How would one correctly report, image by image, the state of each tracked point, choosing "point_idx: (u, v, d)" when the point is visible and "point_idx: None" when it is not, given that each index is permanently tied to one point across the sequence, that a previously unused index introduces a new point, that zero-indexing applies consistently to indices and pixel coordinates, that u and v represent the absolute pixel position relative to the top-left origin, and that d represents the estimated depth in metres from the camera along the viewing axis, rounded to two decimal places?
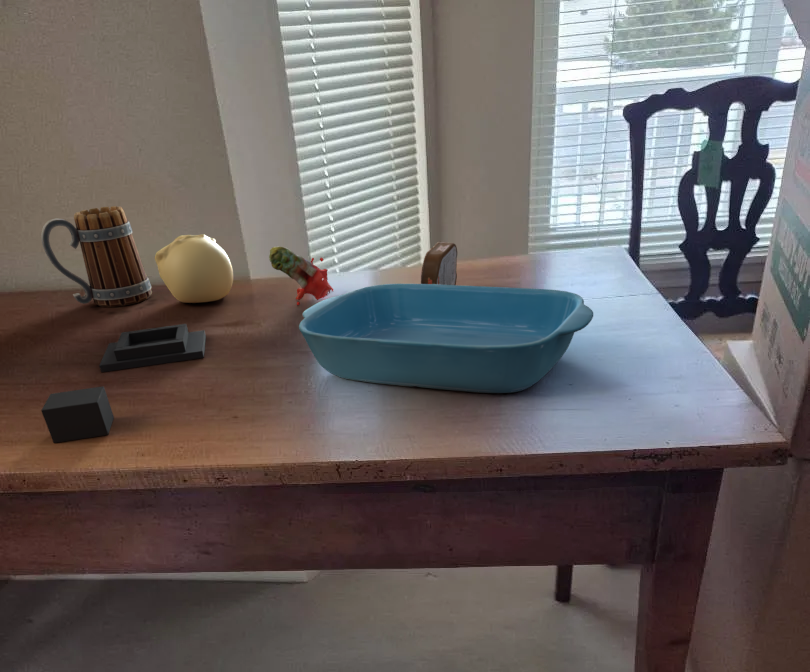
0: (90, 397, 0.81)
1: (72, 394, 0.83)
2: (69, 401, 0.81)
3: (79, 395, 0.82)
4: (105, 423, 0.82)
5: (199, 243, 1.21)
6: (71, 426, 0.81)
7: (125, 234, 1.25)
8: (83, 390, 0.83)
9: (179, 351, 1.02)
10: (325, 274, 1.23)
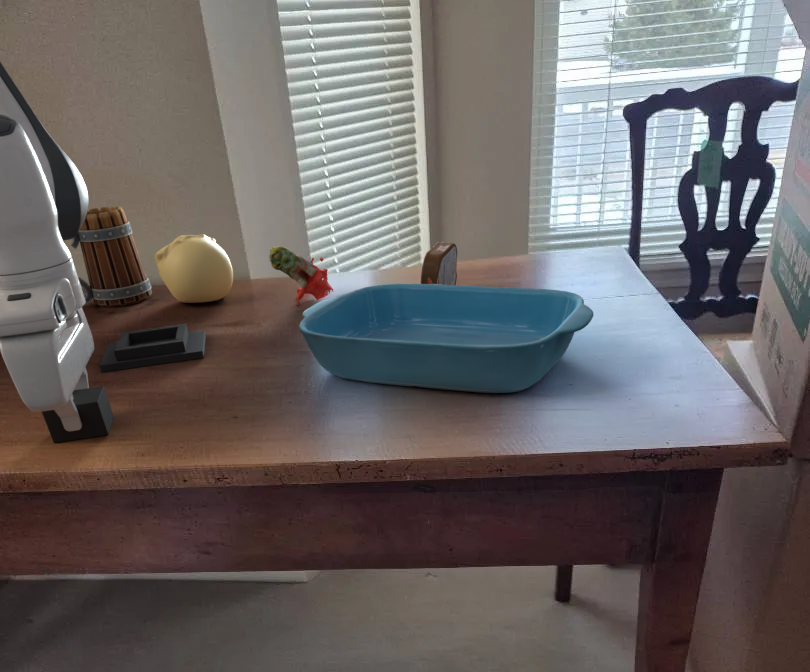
0: (90, 397, 0.82)
1: (72, 394, 0.83)
2: None
3: (79, 395, 0.82)
4: (105, 423, 0.82)
5: (199, 243, 1.21)
6: None
7: (125, 234, 1.25)
8: (83, 390, 0.83)
9: (179, 351, 1.02)
10: (325, 274, 1.23)
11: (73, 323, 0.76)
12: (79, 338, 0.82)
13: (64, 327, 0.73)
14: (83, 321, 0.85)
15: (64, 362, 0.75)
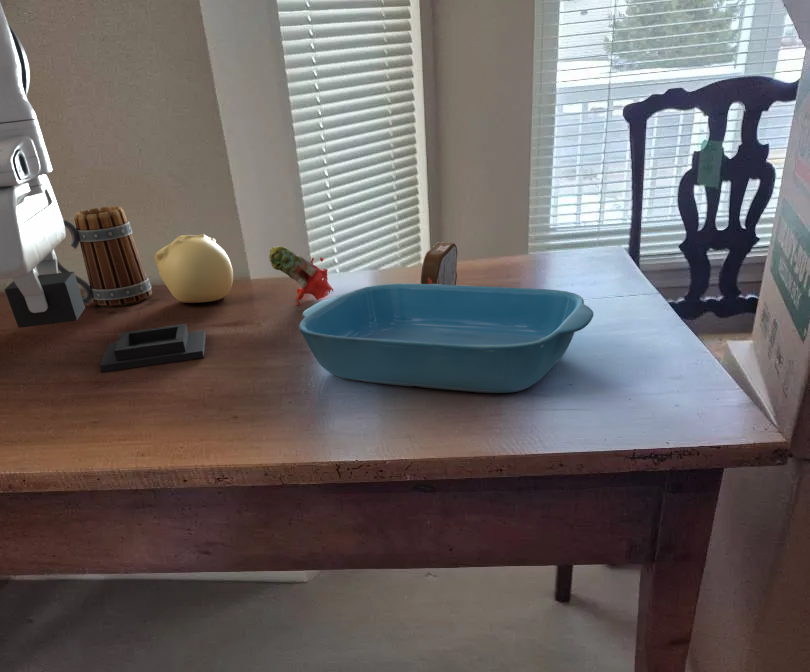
0: (58, 279, 0.76)
1: (40, 277, 0.78)
2: None
3: (47, 278, 0.77)
4: (74, 308, 0.77)
5: (199, 243, 1.21)
6: None
7: (125, 234, 1.25)
8: (51, 274, 0.78)
9: (179, 351, 1.02)
10: (325, 274, 1.23)
11: (38, 192, 0.71)
12: (47, 217, 0.77)
13: (26, 190, 0.68)
14: (53, 203, 0.80)
15: (26, 230, 0.70)
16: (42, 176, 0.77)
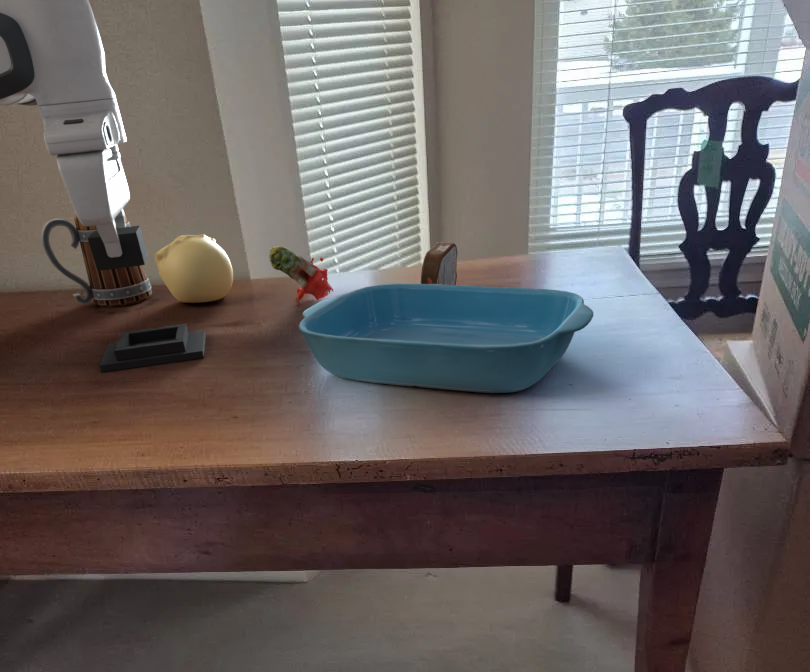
0: (129, 230, 0.93)
1: None
2: None
3: (119, 230, 0.94)
4: (142, 254, 0.94)
5: (199, 243, 1.21)
6: None
7: None
8: (122, 228, 0.95)
9: (179, 351, 1.02)
10: (325, 274, 1.23)
11: (116, 157, 0.88)
12: (119, 180, 0.94)
13: (110, 154, 0.85)
14: (121, 170, 0.97)
15: (109, 187, 0.87)
16: None
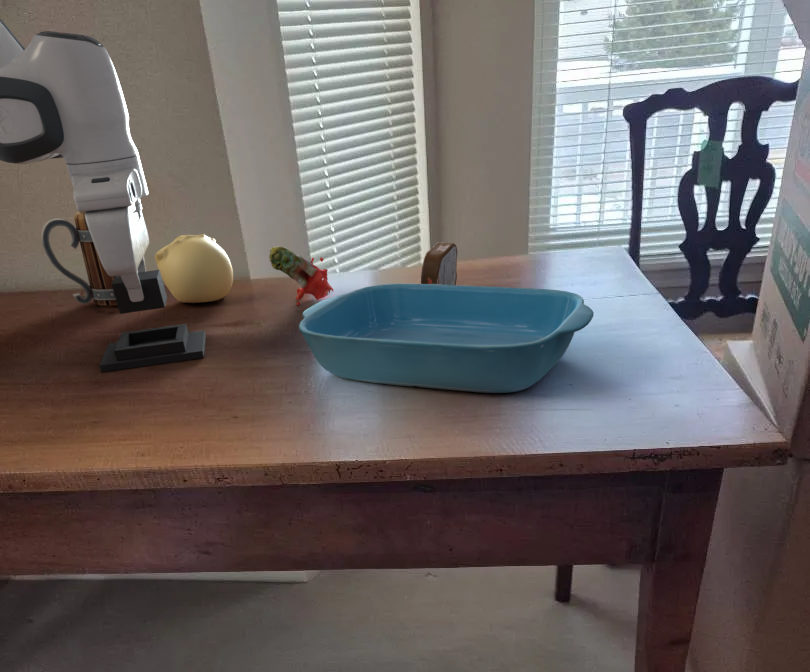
0: (150, 275, 0.99)
1: None
2: None
3: (140, 275, 1.00)
4: (162, 297, 1.00)
5: (199, 243, 1.21)
6: None
7: None
8: (143, 272, 1.01)
9: (179, 351, 1.02)
10: (325, 274, 1.23)
11: (139, 209, 0.94)
12: (140, 228, 1.00)
13: (134, 208, 0.91)
14: (141, 217, 1.03)
15: (133, 239, 0.92)
16: None
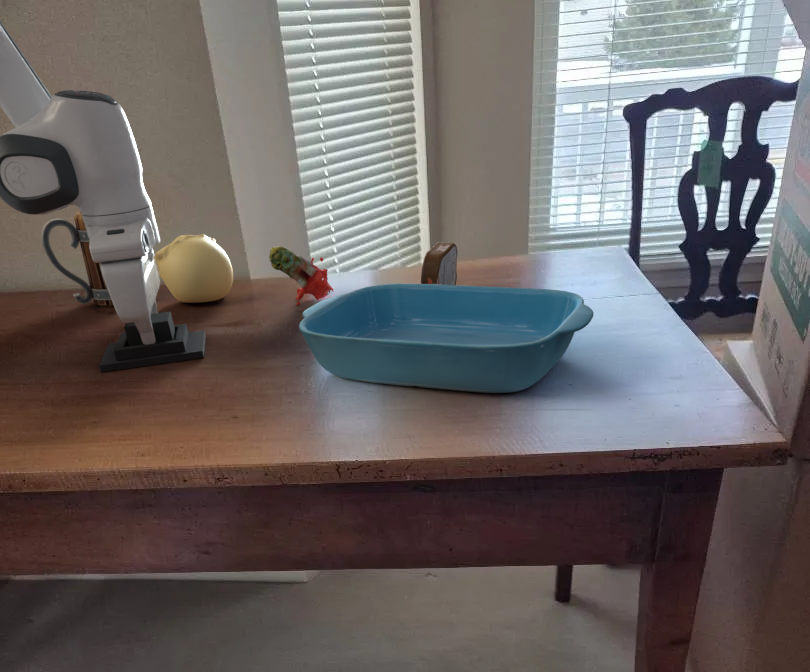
0: (161, 318, 1.02)
1: None
2: None
3: (152, 317, 1.03)
4: (173, 339, 1.03)
5: (199, 243, 1.21)
6: None
7: None
8: (154, 314, 1.04)
9: (179, 351, 1.02)
10: (325, 274, 1.23)
11: (151, 256, 0.97)
12: (152, 272, 1.03)
13: (147, 257, 0.94)
14: (153, 260, 1.06)
15: (146, 286, 0.96)
16: None
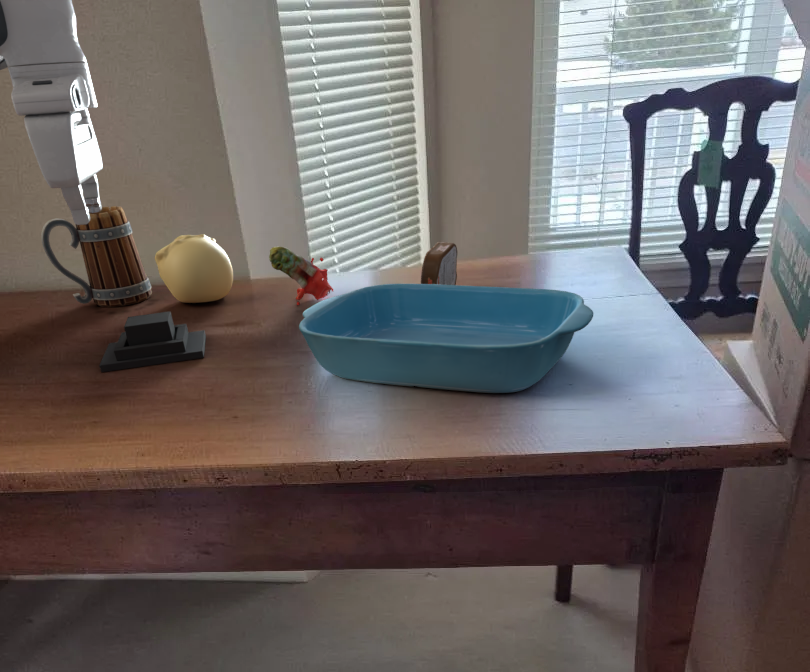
0: (161, 318, 1.02)
1: (146, 316, 1.04)
2: (145, 321, 1.02)
3: (152, 317, 1.03)
4: (173, 339, 1.03)
5: (199, 243, 1.21)
6: (147, 341, 1.02)
7: (125, 234, 1.25)
8: (154, 314, 1.04)
9: (179, 351, 1.02)
10: (325, 274, 1.23)
11: (86, 122, 0.89)
12: (90, 147, 0.94)
13: (79, 118, 0.85)
14: (94, 138, 0.97)
15: (78, 151, 0.87)
16: None
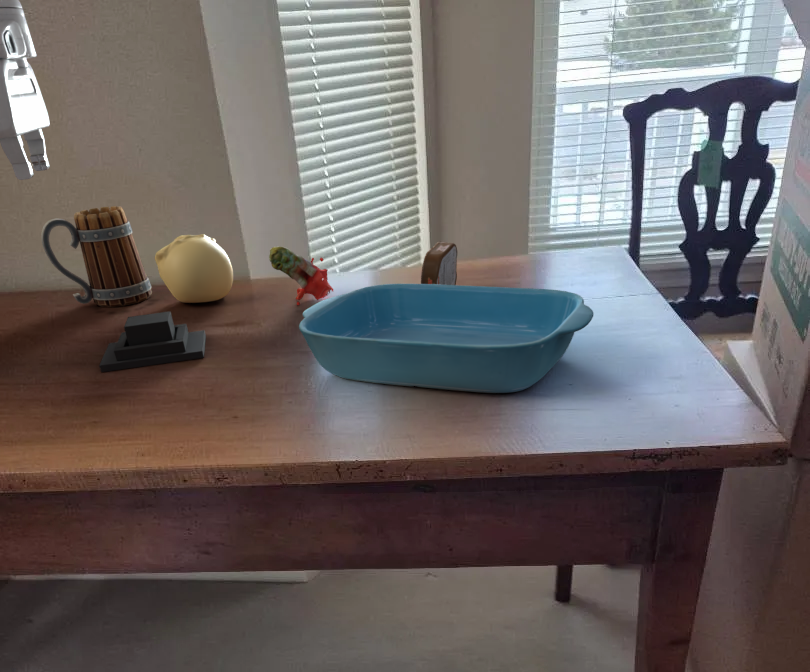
0: (161, 318, 1.02)
1: (146, 316, 1.04)
2: (145, 321, 1.02)
3: (152, 317, 1.03)
4: (173, 339, 1.03)
5: (199, 243, 1.21)
6: (147, 341, 1.02)
7: (125, 234, 1.25)
8: (154, 314, 1.04)
9: (179, 351, 1.02)
10: (325, 274, 1.23)
11: (25, 72, 0.86)
12: (33, 100, 0.91)
13: (15, 66, 0.83)
14: (38, 93, 0.94)
15: (16, 101, 0.84)
16: (28, 67, 0.92)
